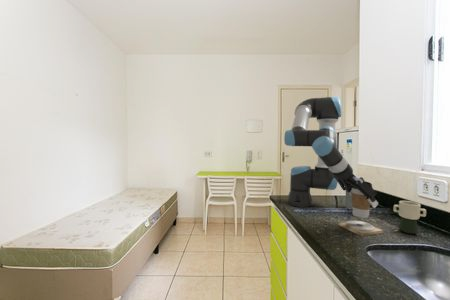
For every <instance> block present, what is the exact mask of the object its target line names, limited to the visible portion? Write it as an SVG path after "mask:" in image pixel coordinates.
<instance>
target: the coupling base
mask: <svg viewBox="0 0 450 300" xmlns="http://www.w3.org/2000/svg"><path fill="white" fill-rule="evenodd" d="M338 226H340V227H342V228H343V229H346V230H347V231H350V232H352V233H354V234H356V235H358V236H360V237H365V236H372V235H378V234H383V233H384V230H383V229H380V228H378V227H377V226H376V227H375V226H374V225H373V224H371V223H368V222H365V221H362V220H347V221H341V222H338Z"/></svg>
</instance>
